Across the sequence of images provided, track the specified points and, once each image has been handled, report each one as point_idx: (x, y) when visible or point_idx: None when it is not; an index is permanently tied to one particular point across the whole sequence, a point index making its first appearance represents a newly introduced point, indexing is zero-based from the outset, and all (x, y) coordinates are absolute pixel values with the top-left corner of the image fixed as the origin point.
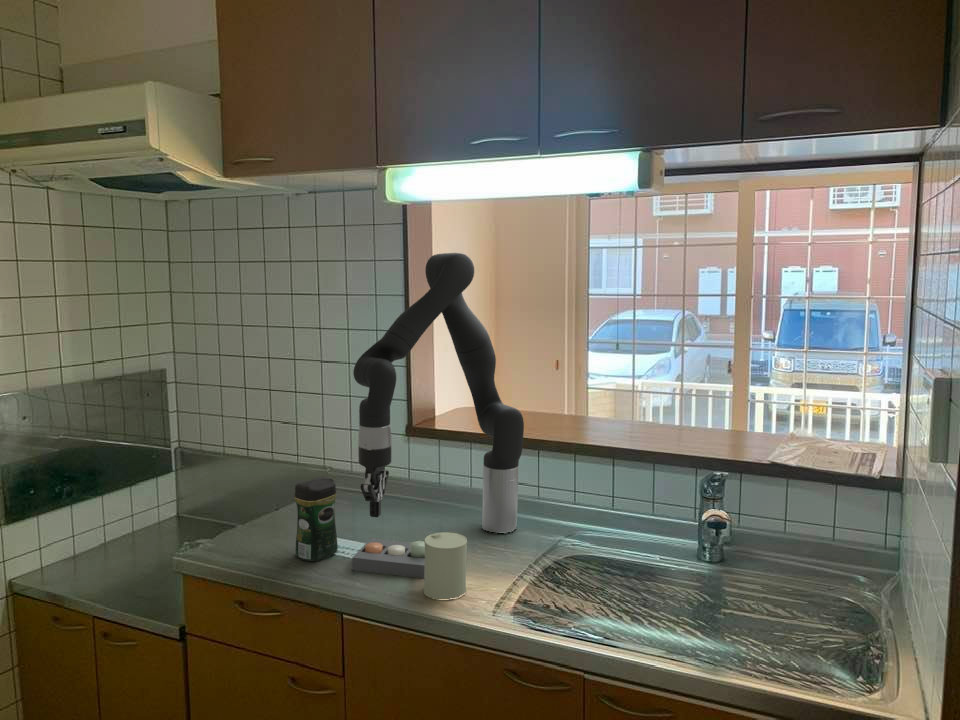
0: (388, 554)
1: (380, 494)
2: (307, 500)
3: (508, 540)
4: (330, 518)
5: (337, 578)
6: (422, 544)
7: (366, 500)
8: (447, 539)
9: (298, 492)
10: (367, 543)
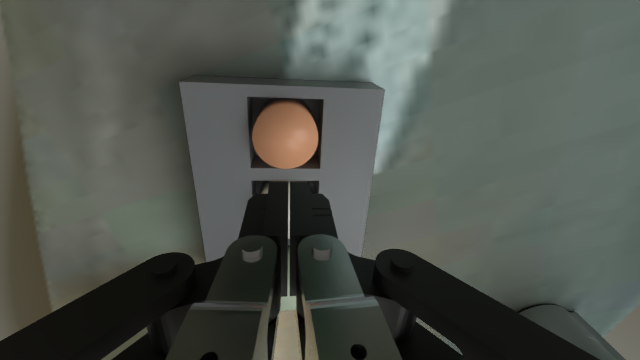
0: (265, 189)
1: (299, 345)
2: None
3: None
4: None
5: (108, 46)
6: (286, 298)
7: (148, 270)
8: None
9: None
10: (330, 94)
